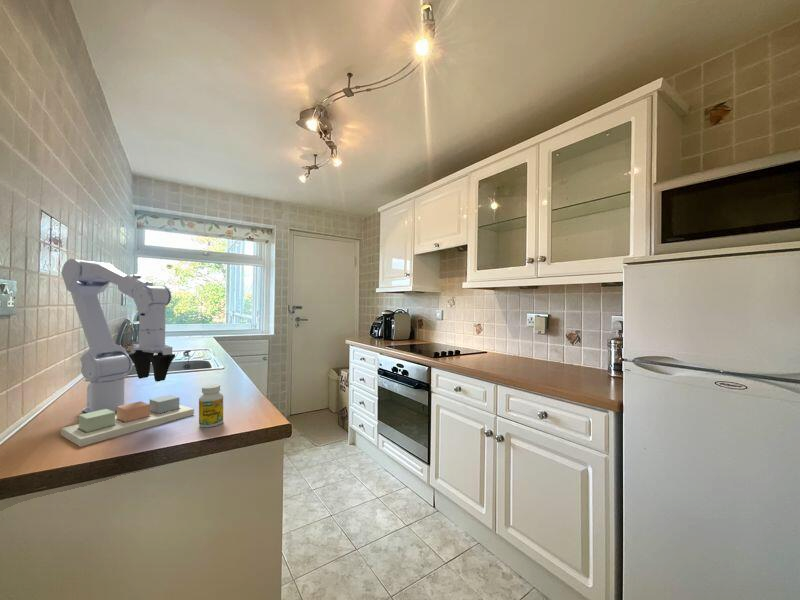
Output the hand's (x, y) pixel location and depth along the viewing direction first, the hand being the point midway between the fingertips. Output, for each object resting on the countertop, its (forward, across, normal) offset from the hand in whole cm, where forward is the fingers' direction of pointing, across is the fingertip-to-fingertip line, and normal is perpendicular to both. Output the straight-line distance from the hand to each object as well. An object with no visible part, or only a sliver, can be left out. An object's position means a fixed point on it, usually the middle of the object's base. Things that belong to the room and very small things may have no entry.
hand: (151, 379), depth 88 cm
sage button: (+8, +2, -13) cm, 15 cm away
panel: (+10, +3, -6) cm, 12 cm away
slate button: (+8, +4, +1) cm, 9 cm away
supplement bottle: (+10, +21, +2) cm, 23 cm away
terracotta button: (+8, +3, -6) cm, 10 cm away
